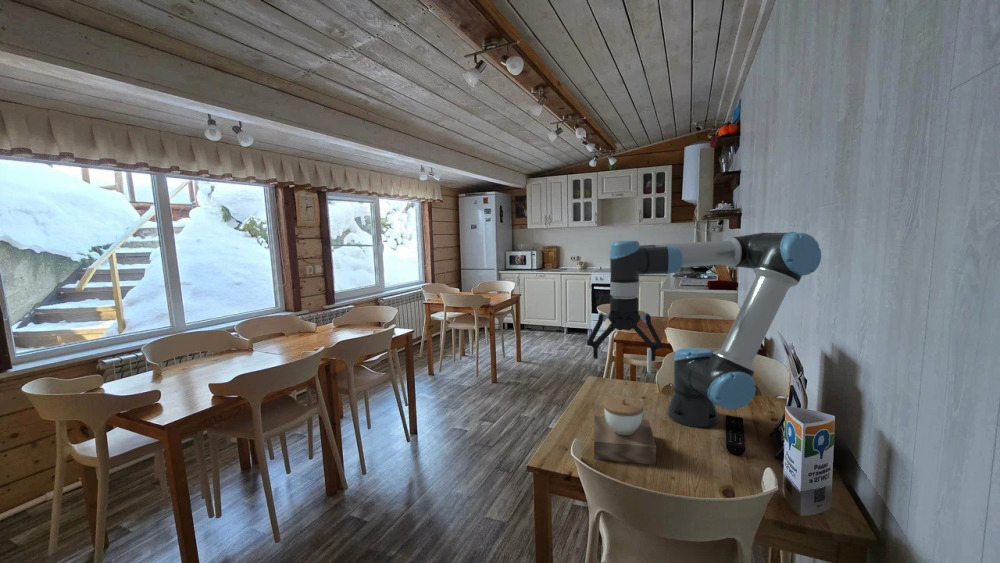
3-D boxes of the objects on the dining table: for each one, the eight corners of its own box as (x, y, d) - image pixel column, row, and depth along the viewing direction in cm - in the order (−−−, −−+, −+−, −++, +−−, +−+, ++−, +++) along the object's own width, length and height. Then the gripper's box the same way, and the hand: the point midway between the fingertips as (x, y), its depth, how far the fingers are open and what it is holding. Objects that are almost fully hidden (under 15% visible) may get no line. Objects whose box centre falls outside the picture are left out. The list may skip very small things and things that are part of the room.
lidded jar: (637, 443, 110) (638, 409, 109) (598, 433, 115) (598, 402, 114) (646, 426, 119) (647, 395, 118) (610, 418, 125) (610, 389, 123)
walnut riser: (648, 435, 124) (648, 419, 123) (655, 464, 108) (656, 447, 108) (594, 430, 127) (594, 415, 127) (594, 458, 112) (594, 441, 111)
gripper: (669, 294, 113) (668, 368, 116) (579, 294, 119) (579, 364, 122) (675, 299, 106) (673, 377, 109) (577, 298, 112) (578, 372, 114)
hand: (623, 370), depth 115 cm, fingers open, 13 cm apart
